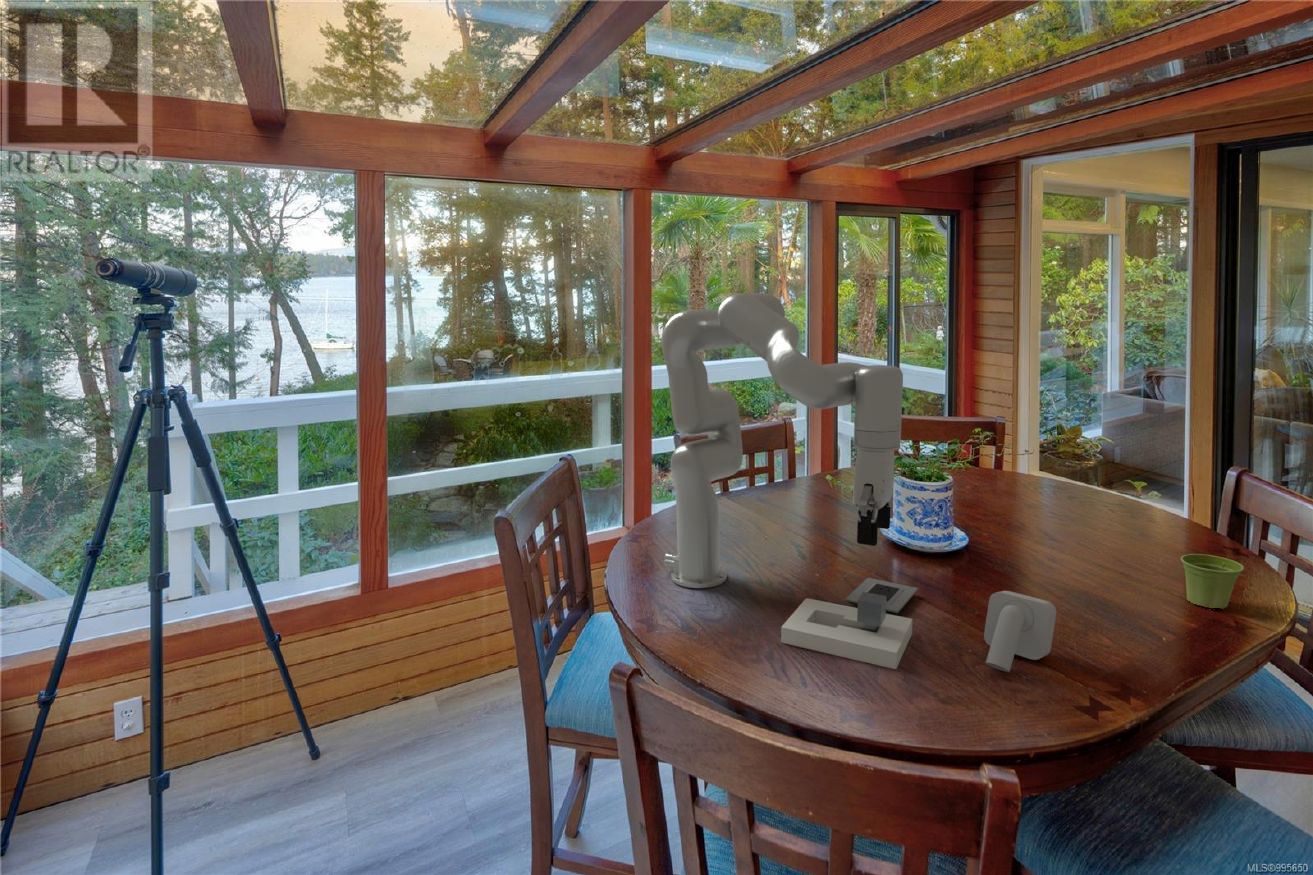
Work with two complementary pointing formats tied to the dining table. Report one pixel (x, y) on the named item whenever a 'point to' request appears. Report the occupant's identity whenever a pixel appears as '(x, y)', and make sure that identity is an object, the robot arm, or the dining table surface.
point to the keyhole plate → (846, 633)
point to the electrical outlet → (884, 593)
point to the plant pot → (1210, 579)
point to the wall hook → (1017, 628)
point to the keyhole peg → (871, 611)
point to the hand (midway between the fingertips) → (873, 535)
